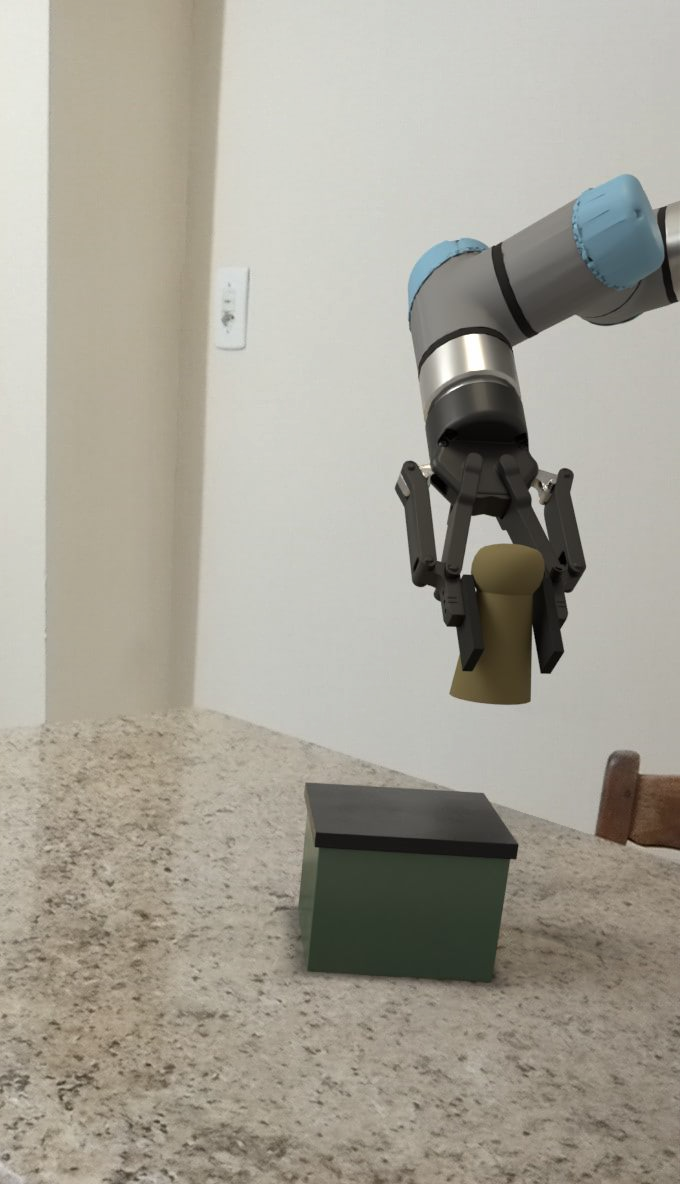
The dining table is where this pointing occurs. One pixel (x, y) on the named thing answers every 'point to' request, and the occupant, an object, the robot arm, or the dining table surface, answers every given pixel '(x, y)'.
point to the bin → (402, 882)
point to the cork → (502, 625)
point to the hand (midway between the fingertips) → (512, 661)
